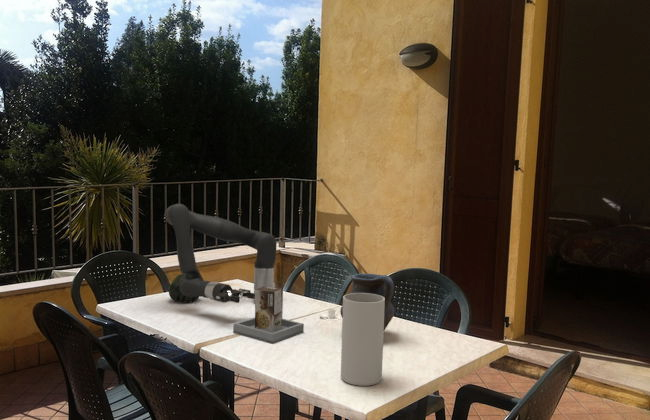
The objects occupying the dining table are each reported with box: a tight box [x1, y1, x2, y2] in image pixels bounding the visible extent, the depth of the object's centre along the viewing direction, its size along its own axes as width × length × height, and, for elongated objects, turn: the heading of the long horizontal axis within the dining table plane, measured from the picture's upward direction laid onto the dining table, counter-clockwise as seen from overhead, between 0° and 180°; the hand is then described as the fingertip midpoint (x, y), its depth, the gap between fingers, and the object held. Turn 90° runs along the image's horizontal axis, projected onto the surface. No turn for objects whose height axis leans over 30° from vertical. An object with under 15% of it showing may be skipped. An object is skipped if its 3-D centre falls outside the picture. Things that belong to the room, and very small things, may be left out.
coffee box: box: [254, 286, 284, 333], centre depth 205 cm, size 9×6×16 cm
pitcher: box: [340, 273, 396, 332], centre depth 203 cm, size 21×22×25 cm
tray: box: [232, 317, 305, 345], centre depth 205 cm, size 18×20×4 cm
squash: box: [168, 273, 200, 304], centre depth 250 cm, size 14×15×15 cm
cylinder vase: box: [340, 293, 385, 387], centre depth 161 cm, size 12×12×25 cm
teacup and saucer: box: [319, 308, 342, 321], centre depth 229 cm, size 9×8×4 cm
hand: (246, 298), depth 211 cm, fingers open, 8 cm apart
